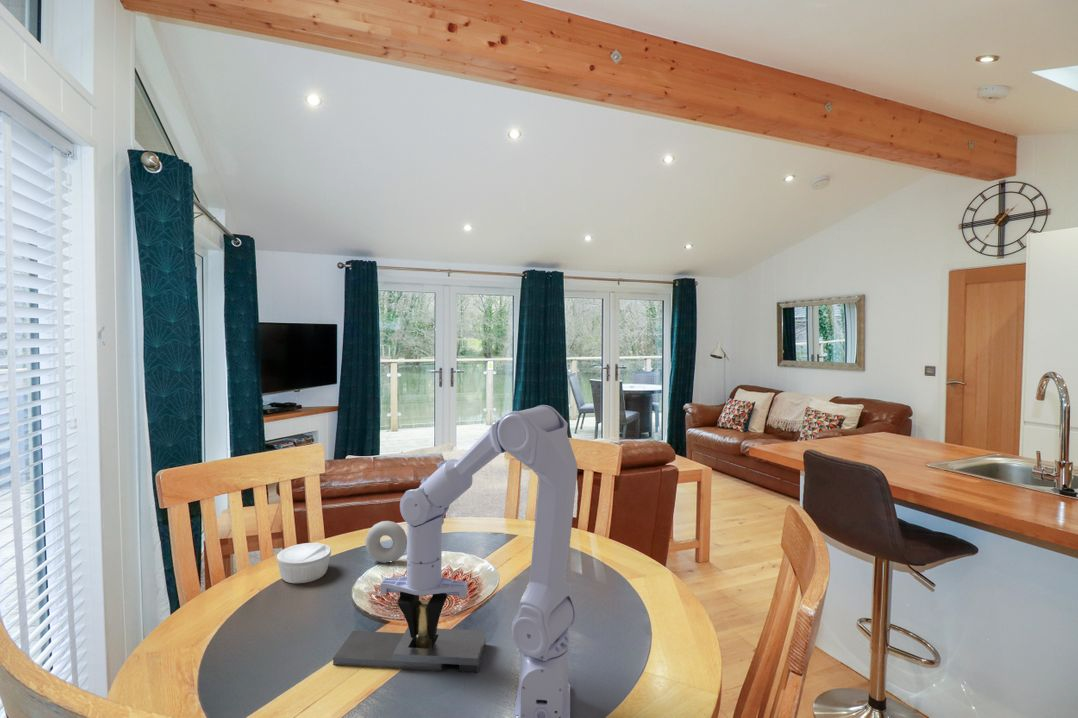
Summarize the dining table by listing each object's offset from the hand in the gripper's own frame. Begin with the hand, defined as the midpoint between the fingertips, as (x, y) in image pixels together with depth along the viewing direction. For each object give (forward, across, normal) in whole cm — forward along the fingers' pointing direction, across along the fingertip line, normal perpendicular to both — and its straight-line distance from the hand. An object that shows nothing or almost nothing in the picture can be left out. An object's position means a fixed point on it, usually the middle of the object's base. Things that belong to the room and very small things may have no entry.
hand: (423, 635), depth 90 cm
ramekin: (+4, +35, -27) cm, 44 cm away
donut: (+4, +19, -35) cm, 40 cm away
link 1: (+3, +5, 0) cm, 6 cm away
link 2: (+3, -3, 0) cm, 5 cm away
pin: (+2, 0, 0) cm, 3 cm away
